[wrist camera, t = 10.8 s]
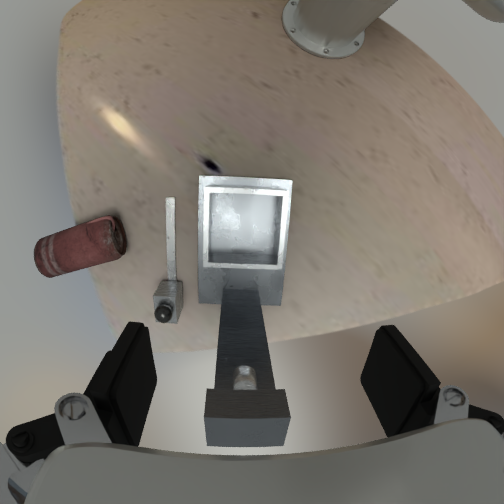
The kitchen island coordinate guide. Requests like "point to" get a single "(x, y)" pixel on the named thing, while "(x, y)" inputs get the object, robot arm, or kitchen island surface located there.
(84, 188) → the kitchen island surface
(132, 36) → the kitchen island surface
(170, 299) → the lever
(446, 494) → the robot arm
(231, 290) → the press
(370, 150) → the kitchen island surface
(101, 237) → the red can
